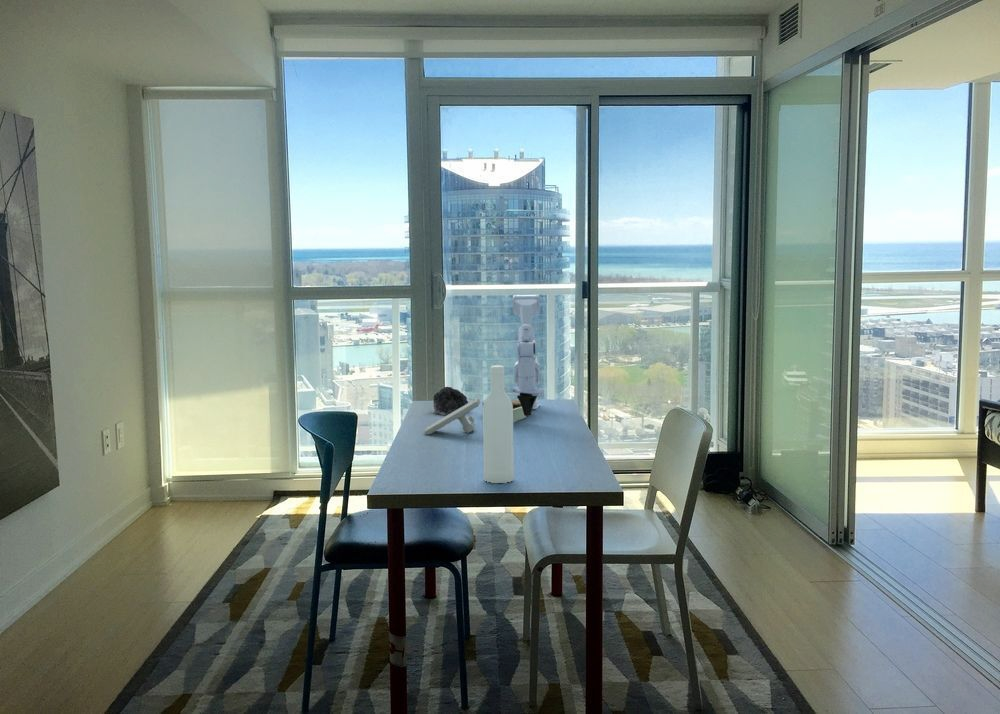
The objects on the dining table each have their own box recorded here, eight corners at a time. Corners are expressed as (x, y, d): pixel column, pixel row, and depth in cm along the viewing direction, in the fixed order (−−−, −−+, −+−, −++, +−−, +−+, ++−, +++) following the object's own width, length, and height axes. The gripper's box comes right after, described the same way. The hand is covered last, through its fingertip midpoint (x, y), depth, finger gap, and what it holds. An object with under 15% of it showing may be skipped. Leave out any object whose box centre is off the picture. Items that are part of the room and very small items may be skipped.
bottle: (520, 480, 212) (518, 366, 209) (495, 486, 208) (493, 369, 204) (502, 474, 219) (500, 363, 215) (477, 479, 214) (475, 366, 211)
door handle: (437, 452, 269) (489, 422, 266) (424, 431, 268) (476, 401, 265) (443, 438, 286) (492, 410, 283) (431, 419, 285) (480, 390, 282)
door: (501, 425, 278) (501, 413, 278) (524, 416, 291) (524, 405, 291) (506, 425, 277) (506, 413, 277) (529, 417, 290) (529, 405, 290)
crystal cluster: (467, 417, 298) (469, 390, 298) (430, 414, 298) (432, 387, 298) (469, 413, 312) (471, 387, 311) (433, 410, 312) (435, 384, 311)
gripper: (504, 375, 284) (504, 413, 286) (533, 379, 273) (533, 419, 275) (519, 373, 289) (519, 411, 290) (548, 377, 278) (548, 416, 280)
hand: (527, 415), depth 283 cm, fingers closed
